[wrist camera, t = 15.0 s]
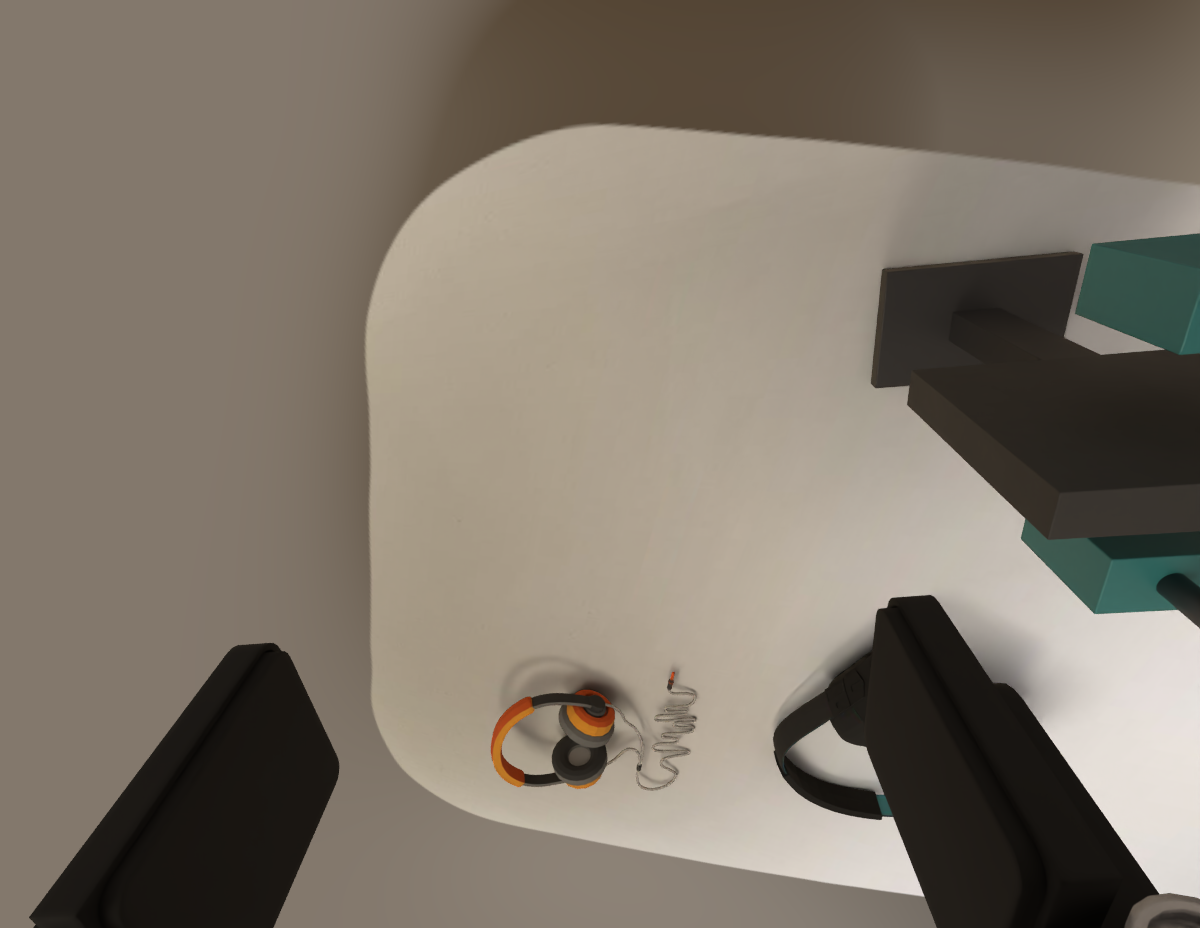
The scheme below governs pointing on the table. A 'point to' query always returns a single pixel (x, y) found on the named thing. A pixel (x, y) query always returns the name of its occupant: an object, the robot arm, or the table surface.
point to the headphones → (579, 738)
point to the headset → (1178, 324)
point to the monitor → (1043, 397)
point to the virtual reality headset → (848, 718)
